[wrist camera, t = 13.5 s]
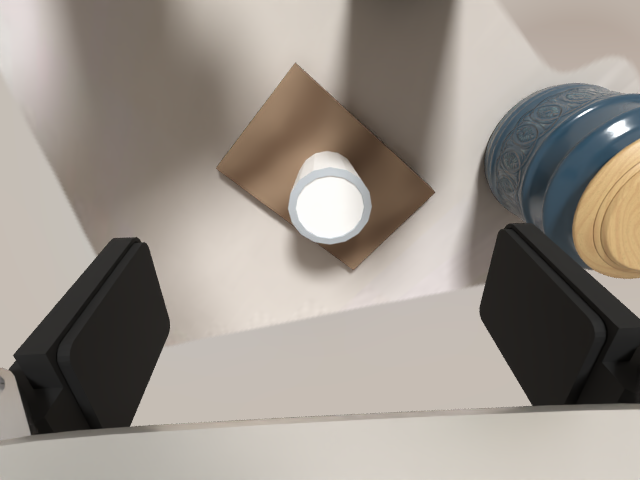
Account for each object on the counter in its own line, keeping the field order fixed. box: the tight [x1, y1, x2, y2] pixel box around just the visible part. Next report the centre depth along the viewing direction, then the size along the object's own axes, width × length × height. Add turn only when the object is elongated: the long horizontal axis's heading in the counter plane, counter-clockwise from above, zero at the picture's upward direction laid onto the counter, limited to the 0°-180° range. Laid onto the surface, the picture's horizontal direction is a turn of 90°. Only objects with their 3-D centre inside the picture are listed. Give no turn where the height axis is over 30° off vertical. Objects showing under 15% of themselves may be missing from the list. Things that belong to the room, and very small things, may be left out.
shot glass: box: [288, 151, 372, 244], centre depth 34 cm, size 7×7×7 cm
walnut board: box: [216, 63, 435, 270], centre depth 38 cm, size 18×12×2 cm, turn 49°
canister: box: [484, 83, 640, 279], centre depth 30 cm, size 13×13×18 cm
